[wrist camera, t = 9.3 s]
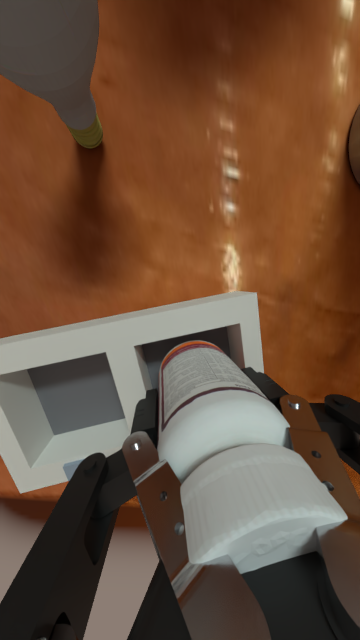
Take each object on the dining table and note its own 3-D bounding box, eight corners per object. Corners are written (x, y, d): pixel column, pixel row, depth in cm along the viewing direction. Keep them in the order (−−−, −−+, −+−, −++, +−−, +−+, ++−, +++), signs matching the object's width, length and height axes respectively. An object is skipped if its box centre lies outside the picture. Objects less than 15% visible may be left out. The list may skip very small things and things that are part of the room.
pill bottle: (211, 409, 16) (320, 672, 5) (148, 392, 15) (117, 677, 4) (238, 350, 15) (438, 518, 4) (173, 327, 14) (217, 473, 3)
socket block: (236, 291, 16) (258, 293, 13) (249, 402, 19) (271, 431, 15) (-2, 338, 15) (-56, 357, 11) (47, 452, 17) (17, 497, 14)
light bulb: (121, 191, 14) (24, -39, 4) (45, 165, 13) (-319, -211, 3) (136, 111, 13) (60, -447, 3) (56, 77, 12) (-410, -851, 2)
